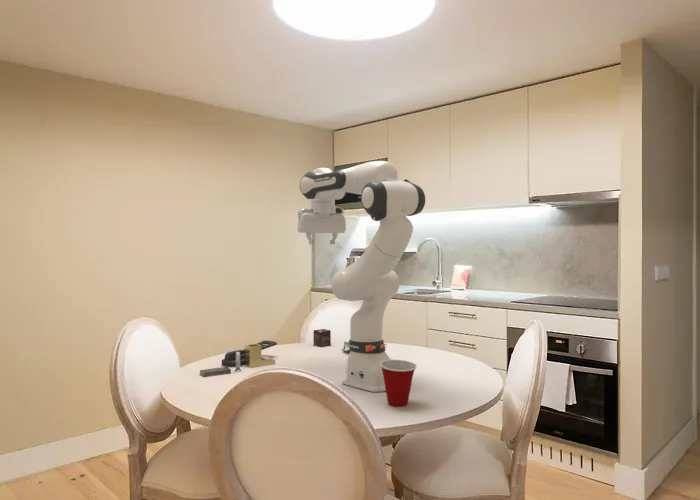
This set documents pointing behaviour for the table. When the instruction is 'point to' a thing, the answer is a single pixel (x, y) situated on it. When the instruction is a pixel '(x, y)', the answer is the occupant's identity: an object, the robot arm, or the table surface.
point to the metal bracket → (346, 344)
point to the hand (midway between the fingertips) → (322, 244)
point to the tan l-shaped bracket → (255, 356)
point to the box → (322, 337)
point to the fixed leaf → (221, 369)
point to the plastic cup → (397, 380)
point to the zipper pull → (243, 354)
